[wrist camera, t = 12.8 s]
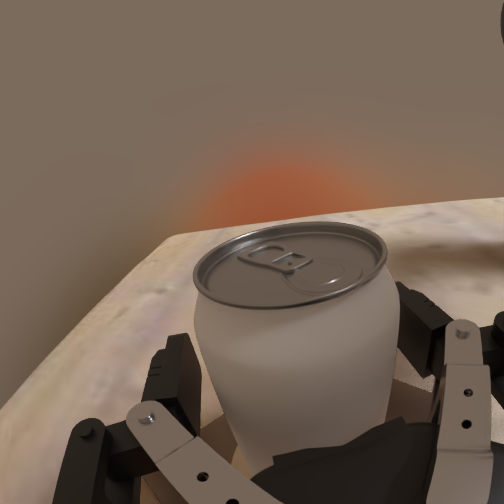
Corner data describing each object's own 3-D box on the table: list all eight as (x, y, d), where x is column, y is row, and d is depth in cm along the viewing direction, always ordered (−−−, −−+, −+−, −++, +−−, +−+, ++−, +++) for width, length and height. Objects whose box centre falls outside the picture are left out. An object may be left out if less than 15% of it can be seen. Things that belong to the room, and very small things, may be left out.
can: (304, 534, 9) (264, 363, 5) (230, 457, 14) (150, 265, 10) (397, 452, 12) (440, 235, 8) (317, 400, 17) (296, 210, 13)
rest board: (314, 355, 23) (313, 342, 23) (474, 418, 13) (481, 404, 12) (143, 474, 14) (133, 464, 14) (299, 630, 4) (296, 633, 3)
